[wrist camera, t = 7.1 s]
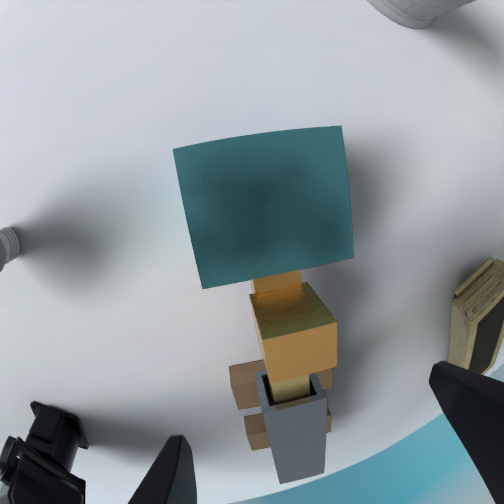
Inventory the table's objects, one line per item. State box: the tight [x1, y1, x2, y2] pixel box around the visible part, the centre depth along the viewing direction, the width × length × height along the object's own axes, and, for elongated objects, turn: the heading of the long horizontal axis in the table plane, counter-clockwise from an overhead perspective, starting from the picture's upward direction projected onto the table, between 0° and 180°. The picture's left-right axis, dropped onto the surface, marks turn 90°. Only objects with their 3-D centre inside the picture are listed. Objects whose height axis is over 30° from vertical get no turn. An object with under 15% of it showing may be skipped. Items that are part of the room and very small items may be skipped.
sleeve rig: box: [173, 126, 354, 484], centre depth 19 cm, size 28×8×7 cm, turn 9°
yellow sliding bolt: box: [249, 270, 337, 406], centre depth 15 cm, size 19×3×6 cm, turn 9°
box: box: [448, 257, 504, 375], centre depth 25 cm, size 8×22×5 cm, turn 32°
